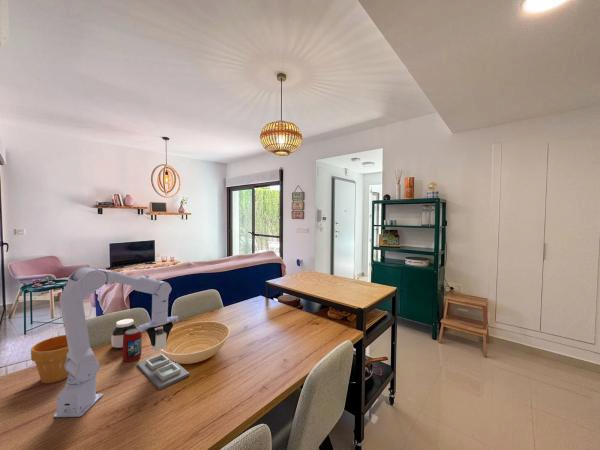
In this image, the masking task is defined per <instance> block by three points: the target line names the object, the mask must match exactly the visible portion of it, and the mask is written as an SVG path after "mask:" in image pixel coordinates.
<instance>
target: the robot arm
mask: <svg viewBox="0 0 600 450" xmlns="http://www.w3.org/2000/svg"><path fill="white" fill-rule="evenodd" d="M112 283H117V284H122V285H127V286H130V287H133V288H132V289H134V291H137V292H141V293H146V294H150V295H151V298H152V299H151V321H148V322H146V323H143V324H140V325H139V326H138V328H139V331H140V332H142V333H143V332H144V331H146V333H147V335H148V337H149V340H150V345H151V347H152V346H155V336H156V327H159V326H162V329H163V331H164V332H166V333H167V334H166V343H167V341H168V338H169V335H170V333H171V331H172V329H173V327H174V322H179V316H178V315H173V316H168V315H169V314H168V312H169V309H168V308H169V297H170V296H169V295H170V294H171V292H172V287H171V285H170V283H169V282H167V281H163V280H161V279H160V278H153V277H150V275H147V274H144V275H139V276H137V277H134V276H131V275H127V274H124V273H120V272H117V271H115V270H109V269H102V268H96V267H94V268H92V267H89V266H82V267H79V268H77V269H76V270H75V271H73V272H72V273H71V274H70V275H69V276H68V279H67V283H66V284H65V286H64V289H63V291H62V292H61V295H60V297H59V304H60V310H61V316H62V321H63V327H64V331H65V335H66V338H67V344H68V349H69V352H68V353H67V360H66V363H65V370H66V371H67V372H69V375H68V377H67V378H66V382H65V383H66V384H65V385H64V387H63V388H62V389H61V390H60V392H58V394H57V396H56V413H54V414H53V417H54V418H70V417H71V418H73V417H75V418H78V417H82V416H83V415H84V414H85V413H86V412H87V411H88V410H89V409H91V407H92V406H93V405H95V403H97V402H98V401H99V400H100V399H101V397H103V393H97V374H98V372H99V370H100V367H101V365H100V362H99V360H97V359H96V356H95V352H94V351H93V349H92V348H91V343H90V336H89V332H88V325H87V320H86V315H85V309H84V303H83V302H84V301H85V299H87V298H88V296H90V295H91V294H93V293H95V292H96V291H97V290H99V289H101V288H102V287H103V286H104V285H105V286H108V285H110V284H112Z"/></svg>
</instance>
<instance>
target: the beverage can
mask: <svg viewBox="0 0 600 450" xmlns="http://www.w3.org/2000/svg"><path fill="white" fill-rule="evenodd" d="M138 328H139V327H138ZM138 328H134V329H129V330H127V331H126V332H125V334H124V336H123V349H122V360H123V361H124V362H134V361H136V360H138V359H139V358H140V357H141V356H142V347H143V346H142V343H143V342H142V341H143V340H142V339H143V334H142V333H143V331H142V332H140V331H139V329H138Z"/></svg>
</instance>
